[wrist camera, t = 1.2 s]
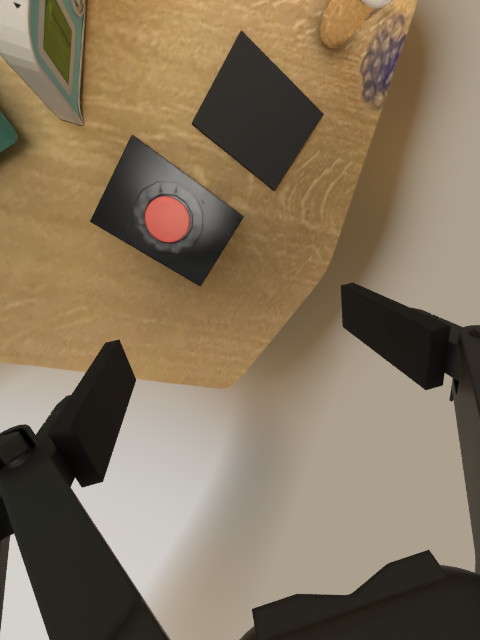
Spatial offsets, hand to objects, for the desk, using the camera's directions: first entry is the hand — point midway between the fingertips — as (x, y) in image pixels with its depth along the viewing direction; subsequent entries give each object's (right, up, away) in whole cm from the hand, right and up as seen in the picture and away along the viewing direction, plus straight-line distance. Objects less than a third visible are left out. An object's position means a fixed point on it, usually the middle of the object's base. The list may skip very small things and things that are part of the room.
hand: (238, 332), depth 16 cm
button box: (-8, +13, +18) cm, 24 cm away
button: (-8, +12, +14) cm, 20 cm away
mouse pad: (+2, +24, +16) cm, 29 cm away
